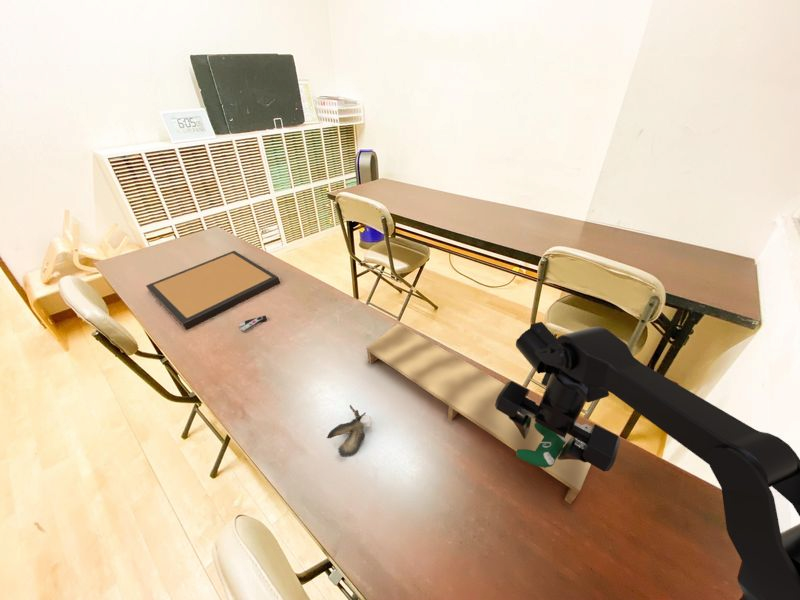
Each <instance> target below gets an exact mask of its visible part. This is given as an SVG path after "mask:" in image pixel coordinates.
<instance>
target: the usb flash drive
mask: <svg viewBox="0 0 800 600" xmlns="http://www.w3.org/2000/svg"><path fill="white" fill-rule="evenodd" d="M267 320H268V317H267V315H261V316H257V317H253V318H250V319H247V320H244V321H241V322H238V327H239V328H240V331H242V332H244V333H247V332H248V331H250V330H252V329H253V328H255V327H256V326H258V325H259V324H261V323H263V322H266V321H267Z"/></svg>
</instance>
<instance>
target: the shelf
mask: <svg viewBox="0 0 800 600" xmlns="http://www.w3.org/2000/svg"><path fill="white" fill-rule="evenodd" d="M366 350H367V351H366V353H367V361H368V363H369V364H370V365H372V364H374V363H375V362H376V361H377V360H378V359H379V360H380V361H382V362H383V363H385V364H387V365H388V366H390V367H391V368H392V369H393V370H395V371H396V372H398V373H400V374H401V375H403V376H404V377H406V378H407V379H408V380H410V381H411V382H412V383H414V384H416V385H417V386H418V387H420V388H421V389H423V390H424V391H426V392H428V393H429V394H431V395H432V396H434V397H435V398H437V399H438V400H439V401H441V402H442V403H444V404H445V405H447V406H448V410H447V419H449V420H450V421H453V419H455V417H456V416H457V415H458V414H460V415H461V416H463V417H465V418H466V419H468V420H469V421H471V422H472V423H474V424H475V425H477V426H478V427H479V428H481V429H482V430H484V431H485V432H487V433H488V434H490V435H491V436H493V437H494V438H495V439H497V440H498V441H500V442H501V443H503V444H504V445H506V446H507V447H509V448H511V449H512V450H513V451H515V452H516V453H517V450H518V449H527V450H532V451H535V450H536V449H537V447H538V446H539V444H540V443H541V441H542V439H543V438H544V436H543V435H541V434H540V433H539V432H538V431H537V430H536V428H535V426H534V424H535V423H536V422H535V419H533V418H531V424H530V429H529V432H528V434H527V436H526V438H525V439H524V438H523V437H522V435H521V433H520V431H519V429H518V428H517V426H516V425H515V423H514V422H513V421H512V420H510V419H509V417H508V416H507V415H506V414H504V413H502V412H500V411H499V410H497V409H496V407H495V403H496V400H497V397H498V395H499V394H500V393H501V391H502V390H503V388H504V387H505V385H506V383H503V382H502V381H500V380H498V379H497V378H495V377H493V376H491V375H490V374H488V373H486V372H484V371H482V370H481V369H479V368H477V367H476V366H474V365H472V364H470V363H468V362H467V361H465V360H464V359H462V358H460V357H458V356H456V355H455V354H452V353H451V352H450V351H447V350H445V349H443V348H442V347H440V346H439V345H436V344H435V343H433V342H431V341H430V340H428V339H426V338H424V337H422V336H421V335H419V334H418V333H415V332H414V331H412V330H410V329H408V328H407V327H405V326H403V325H402V324H400V323H397V324H395V325H394V326H393V327H391V328H390V329H389V330H387V331H386V332H385V333H383V334H382V335H381V336H380V337H378V338H377V339H376V340H374V341H373V342H371V343H370V344H369V345H367V346H366ZM526 397H527V398H529V399H530V400H532V401H534V402H536V405H538V406H539V405H540V402H537V401H535V400H533V399H531V398H530V397H529V396H526ZM571 437H572V436H571V435H569V434H566V438H567V440H566V443H567V442H568V441H569V440H570V438H571ZM566 443H565V445H566ZM565 445H564V446H565ZM564 446H563V447H564ZM559 454H560V453H559ZM558 456H559V455H558ZM557 458H558V457H557ZM557 458H556V460H555V462H554V464H553V465H552V466H550V467H546V468H544V467H539V468H540V469H542V471H544V472H546V473H548V474H549V475H550V476H552V477H553V478H554V479H556V480H558V481H559V482H561V483H562V484H564V485H565V486H566V487H567V488H568V490H567V492H566V495H565V497H564V501H566V502H567V503H568V504H569V505H572V503H573V502H574V500H576V497H577V496H578V495H579V493H580V492H581V489H582V487H583V485H584V483H585V480H586V478H587V476H588V473H589V471H590V468H591V466H592V464H590V463H588V462H586V463H585V462H582V461H580V460H572V459H566V460H559V459H557Z"/></svg>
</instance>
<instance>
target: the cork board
mask: <svg viewBox="0 0 800 600" xmlns="http://www.w3.org/2000/svg"><path fill="white" fill-rule="evenodd" d="M279 284H281V281H280V278H279V276H277V275H276V274H274V273H272V272H270V271H269V270H268V269H266V268H264V267H262V266H261V265H259V264H257V263H256V262H254V261H252V260H251V259H250V258H248V257H245V256H244V255H242V254H241V253H239V252H237V251H236V250H233V251H230V252H227V253H224V254H222V255H220V256H217V257H214V258H212V259H210V260H206V261H205V262H202V263H199V264H197V265H194V266H192V267H189V268H187V269H185V270H182V271H179V272H177V273H174V274H172V275H169V276H166V277H164V278H162V279H159V280H157V281H154V282H151V283H149V284H146V285H145V287H146V288H147V291H148V292H149V293H150V294H151V295H152V296H153V297H154V298H155V299H156V300H157V301H158V302H159V304H160V305H161V306H162V307H163V308H164V309H165V310H166V311H167V312H168V313H169V315H171V316H172V317H173V318H174V319H175V320H176V321H177V323H179V324H180V325H181V326H182V328H184V330H186V331H189V330H190V329H192V328H195V327H196V326H198V325H200V324H203V323H204V322H206V321H209V320H210V319H212V318H214V317H216V316H218V315H220V314H222V313H224V312H226V311H228V310H229V309H232V308H234V307H235V306H238V305H239V304H242V303H243V302H246V301H248V300H250V299H251V298H253V297H256V296H257V295H259V294H261V293H264V292H265V291H267V290H269V289H272V288H273V287H275V286H278V285H279Z"/></svg>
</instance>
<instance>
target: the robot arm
mask: <svg viewBox="0 0 800 600" xmlns="http://www.w3.org/2000/svg"><path fill="white" fill-rule="evenodd" d="M515 347H516V349H517V350H518V351H519V353H521V355H522V356H523V357H524V358H525V359H526V361H527V362H528V363H529V364H530V365H531V367H532V368H533V369H534V370H535V372H536V373H537V374H538V375H540V374H544V376H543V378H542V380H541V382H540V384H541V385H542V386H545V388H544V389H545V390H544V392H543V395H542V396H541V399H540V402H539V404H540V405H539V406H538V405H536V402H537V401H535V400H534V401H535V402H534V401H532V400H533V399H532V400H530V399H531V398H530V397H529V396H528V395H529V394H530V392H531V390H530V389H529V388H528V387H525V386H524V385H521V384H519V383H517V382H515V381H514V380H510V381H507V382H506V383H505V387H504V388H503V390H502V391H501V393H500V394H499V395H498V397H497V400H496V403H495V407H496V409H497V410H499V411H500V412H502V413H504V414H506V415H507V416H508V417H509V419H510V420H512V421H513V422H514V423H515V425H516V426H517V428H518V429H519V431H520V433H521V435H522V437H523V438H524V439H525V438H526V436H527V434H528V432H529V429H530V424H531V418H533V419H535V422H537V423H539V424H540V425H542V426H544V427H546V428H548V429H549V430H551V431H553V432H555V433H556V434H558V435H560V436H562V437H564V438H565V436H566V434H569V435H571V436H572V437H571V438H570V440H569V441H568V442H567V443H566V445H565V446H564V447H563V448H562V450H561V452H560V454H559V456H558V458H557V459H559V460H566V459H572V460H580V461H582V462H585V463H586V462H588V463H590V464H591V466H594V467H595V468H597V469H599V470H600V471H601V472H609V471H610V470H611V469H612V467H613V466H614V464H615V461H616V459H617V456H618V455H617V454H618V452H619V448H620V444H621V439H620V436H619V435H618V434H617V433H614V432H612V431H611V430H608V428H607V429H606V428H605V427H602V426H601V425H599V424H596V423H594V424H593V426H591V425H590V424H588V423H582V424H581V423H579V422H577V420H578V419H579V416H580V415H581V413H582V410H583V409H584V407H585V405H586V404H587V403H592V402H595V401H598V400H601V399H604V398H607V397H609V396H610V394H612V395H613V396H615V397H617V398H618V399H619V400H620V401H622V402H623V403H625V404H626V405H627V406H629V407H630V409H632V410H634V411H635V412H637V414H639V415H641V416H642V417H644V418H645V419H646V420H648V421H649V422H650V423H652V424H653V425H654V426H656V427H657V428H658V429H660V430H661V431H663V432H664V433H665V434H667V435H668V436H669V437H671V438H672V439H673V440H674V441H676V442H677V443H679V444H680V445H682V446H683V448H686V449H687V450H688V451H690V452H691V453H692V454H694V455H695V456H696V457H698V458H699V459H701V460H703V462H705V463H706V464H707V465H709V468H710V470H711V471H712V474H713V475H714V478H715V479H716V481H717V483H718V484H719V486H720V489H721V495H722V503H723V510H724V519H725V520H724V521H725V526H726V527H725V528H726V532H727V535H728V538H729V539H730V541H731V543H732V545H733V546H734V548H735V550H736V552H737V554H738V556H739V558H740V560H741V562H740V566H739V569H738V573H737V577H736V579H737V583H738V585H739V587H740V589H741V591H742V596H741V597H740V598H739V599H738V600H800V523H798V524H797V525H794V526H793V527H790V528H788V529H786V530H784V531H781V527H780V523H779V516H778V511H777V506H776V501H775V496H774V494H773V491H772V489H771V488H773V489H774V490H775V491H776V492H778V493H779V494H780V495H781V496H782V497H783V498H784V499H786V500H787V501H788V502H789V503H790V504H791V505H792V506H793V508H794V510H795V511H796V513H797V514H798V516H799V517H800V457H799V456H798V454H797V453H796V451H795V450H794V449H793V448H792V447H791V446H790V444H789V443H787V441H784V440H783V439H781V438H780V437H779V436H777V435H774V434H772V433H769V432H764V431H760V430H758V429H755V428H754V427H752V426H750V425H749V424H746V423H745V422H743V421H742V420H740V419H738V418H736V417H734V416H733V415H731V414H729V413H728V412H726V411H725V410H722V409H720V408H719V407H717V406H716V405H714V404H712V403H710V402H709V401H707V400H706V399H704V398H702V397H701V396H698V395H697V394H695V393H693V392H692V391H690V390H688V389H687V388H685V387H683V386H681V385H680V384H678V383H677V382H674V381H673V380H671V379H669V378H667V377H666V376H665V375H663V374H661V373H659V372H657V371H656V370H654V369H652V368H651V367H649V366H648V365H645V364H644V363H642V362H641V361H639V360H638V359H637V358H636V357H634V355H633V353H632V351H631V349H630V347H629V345H628V344H627V343H626V342H624V341H623V340H622V339H620V338H619V337H618V336H617V335H615V334H614V333H613V332H611V331H610V330H608V329H606V328H604V327H602V326H598V325H597V326H593V327H588V328H584V329H580V330H576V331H572V332H569V333H565V334H562V335H559V336H557V337H556V335H554V334H553V333H552V332H551V331H550V330H549V328H548V327H547V326H546V325H545V323H544V322H543V321H539V322H534V323H531V324H530V327H529V328H528V329H526V330H525V331H524V332H523V333H521V334H520V336H519V337H518V338H517V339H516V341H515ZM527 397H528V398H527ZM529 398H530V399H529Z"/></svg>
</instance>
